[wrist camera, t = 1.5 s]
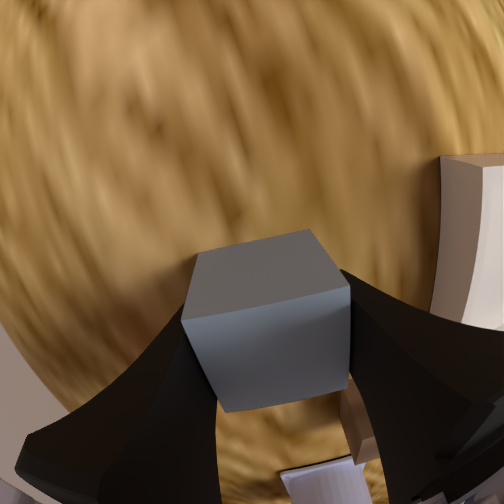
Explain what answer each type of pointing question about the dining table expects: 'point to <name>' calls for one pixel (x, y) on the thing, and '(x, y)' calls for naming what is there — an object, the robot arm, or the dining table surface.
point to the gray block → (269, 321)
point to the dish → (471, 241)
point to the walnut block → (357, 425)
